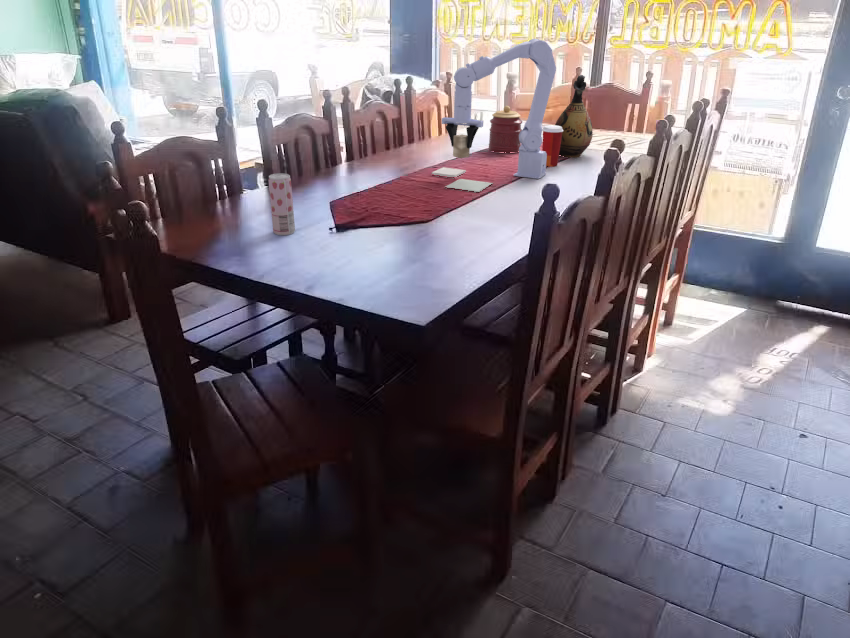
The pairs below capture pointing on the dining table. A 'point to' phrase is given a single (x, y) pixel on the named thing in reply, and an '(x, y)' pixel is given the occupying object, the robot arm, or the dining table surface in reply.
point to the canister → (505, 131)
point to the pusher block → (460, 146)
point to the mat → (469, 185)
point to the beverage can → (281, 204)
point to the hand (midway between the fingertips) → (461, 147)
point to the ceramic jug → (575, 124)
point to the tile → (448, 172)
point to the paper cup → (552, 143)
